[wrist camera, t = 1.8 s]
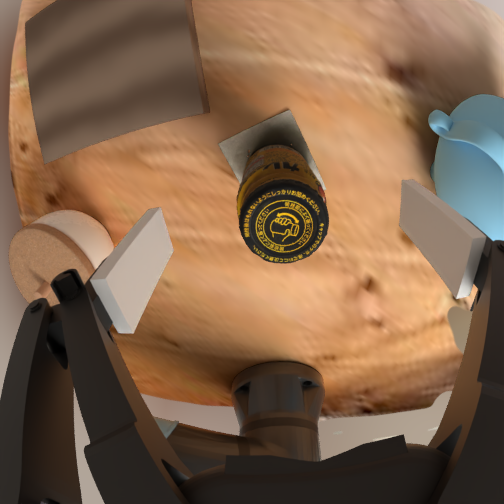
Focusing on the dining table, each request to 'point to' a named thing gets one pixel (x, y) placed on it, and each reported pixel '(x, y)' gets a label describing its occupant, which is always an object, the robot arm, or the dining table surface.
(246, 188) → the condiment
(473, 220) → the teapot
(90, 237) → the lidded bowl
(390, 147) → the dining table surface
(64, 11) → the grey flat square piece
